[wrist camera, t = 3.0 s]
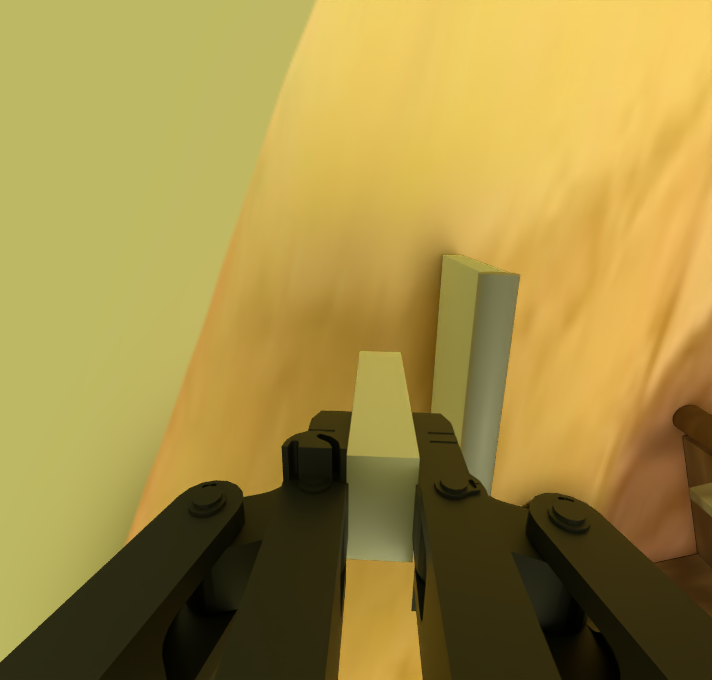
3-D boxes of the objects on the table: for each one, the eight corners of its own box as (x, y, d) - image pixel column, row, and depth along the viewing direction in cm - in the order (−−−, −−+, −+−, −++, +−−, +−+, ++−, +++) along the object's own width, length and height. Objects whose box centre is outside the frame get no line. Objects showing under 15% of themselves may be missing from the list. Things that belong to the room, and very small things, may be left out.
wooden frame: (461, 614, 35) (509, 829, 23) (412, 476, 31) (438, 647, 19) (718, 558, 32) (936, 771, 20) (700, 399, 28) (959, 540, 16)
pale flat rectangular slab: (442, 469, 30) (480, 603, 20) (422, 469, 31) (448, 602, 20) (462, 254, 26) (526, 277, 15) (437, 253, 26) (484, 276, 15)
